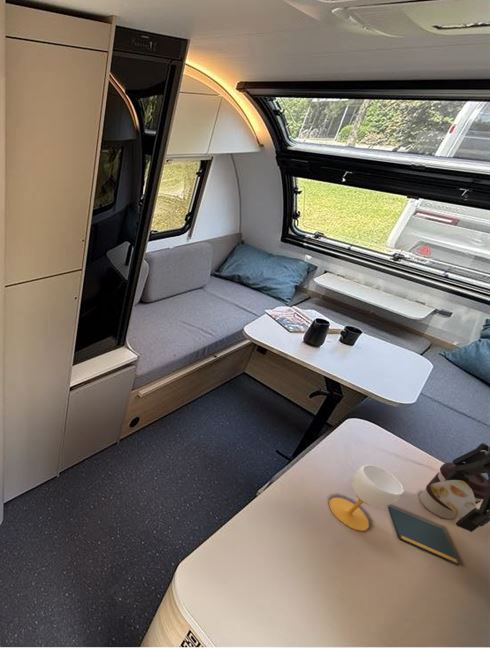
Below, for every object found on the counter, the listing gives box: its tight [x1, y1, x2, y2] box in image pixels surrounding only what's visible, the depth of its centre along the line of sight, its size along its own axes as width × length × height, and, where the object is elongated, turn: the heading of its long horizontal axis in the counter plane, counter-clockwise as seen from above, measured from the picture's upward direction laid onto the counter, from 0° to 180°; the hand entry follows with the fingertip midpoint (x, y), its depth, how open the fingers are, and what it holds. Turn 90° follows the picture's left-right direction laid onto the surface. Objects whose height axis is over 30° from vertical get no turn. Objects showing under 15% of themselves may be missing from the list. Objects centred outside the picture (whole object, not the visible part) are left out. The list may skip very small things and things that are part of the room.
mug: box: [430, 480, 478, 520], centre depth 88 cm, size 8×10×10 cm
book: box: [387, 505, 461, 566], centre depth 95 cm, size 12×10×1 cm
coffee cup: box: [419, 462, 489, 520], centre depth 99 cm, size 10×10×15 cm
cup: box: [328, 464, 405, 532], centre depth 94 cm, size 9×9×16 cm
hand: (453, 508), depth 89 cm, fingers closed on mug, 10 cm apart
